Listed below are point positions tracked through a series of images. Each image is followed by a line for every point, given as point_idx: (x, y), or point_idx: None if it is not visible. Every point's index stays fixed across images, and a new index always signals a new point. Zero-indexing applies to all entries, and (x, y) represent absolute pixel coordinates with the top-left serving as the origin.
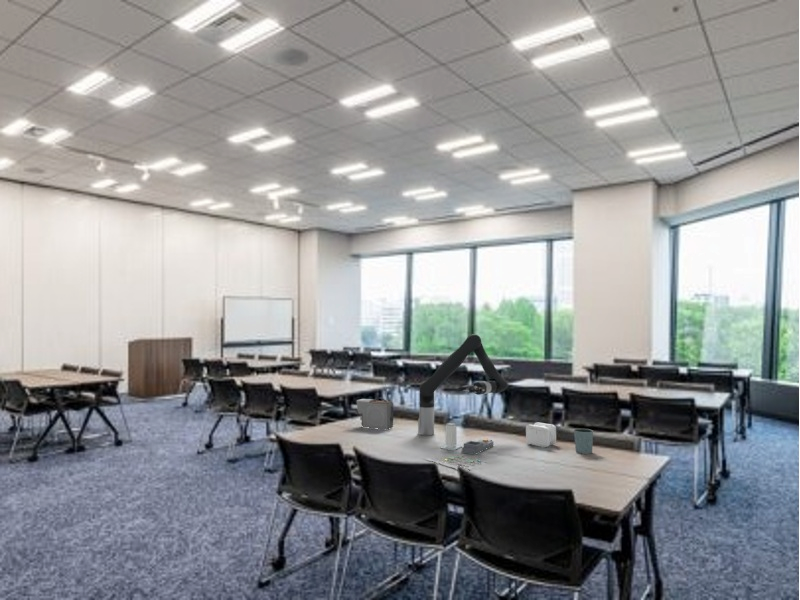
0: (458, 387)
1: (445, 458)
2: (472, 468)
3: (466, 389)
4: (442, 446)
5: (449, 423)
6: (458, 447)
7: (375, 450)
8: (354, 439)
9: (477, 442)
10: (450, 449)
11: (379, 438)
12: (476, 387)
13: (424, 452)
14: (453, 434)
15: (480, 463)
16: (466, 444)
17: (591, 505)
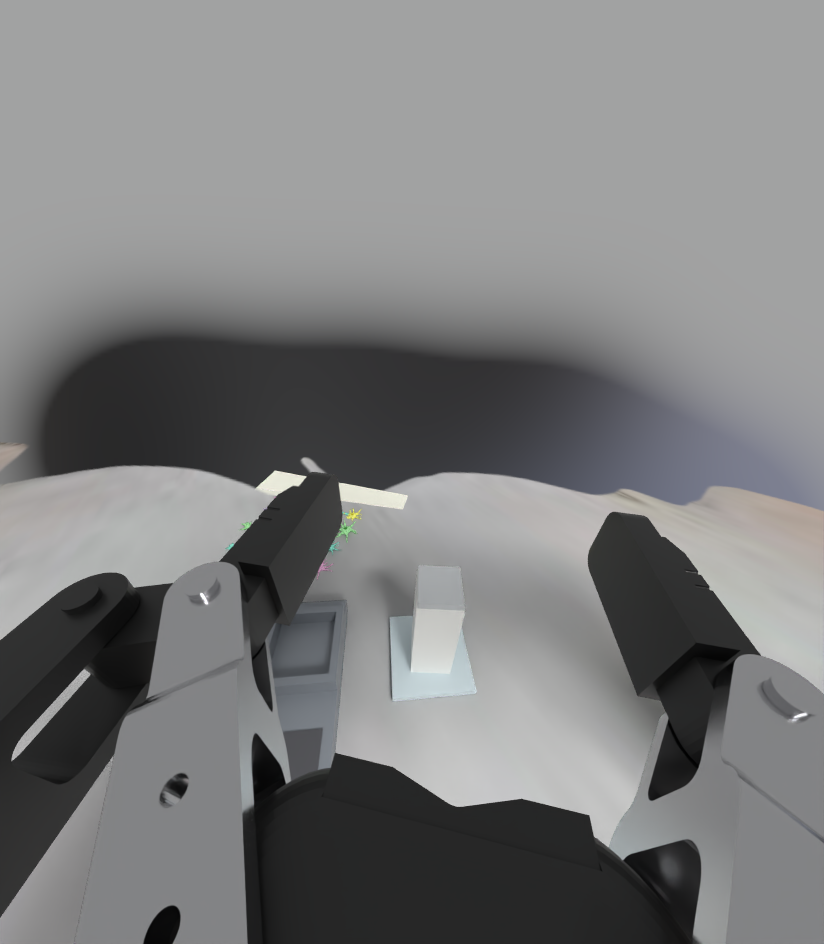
0: (639, 516)
1: (359, 518)
2: (262, 495)
3: (650, 807)
4: (461, 631)
5: (456, 590)
6: (393, 662)
7: (561, 497)
8: (745, 547)
9: (285, 677)
10: (408, 617)
11: (753, 607)
12: (146, 702)
13: (456, 542)
14: (414, 609)
15: (244, 528)
16: (328, 607)
17: (14, 444)
